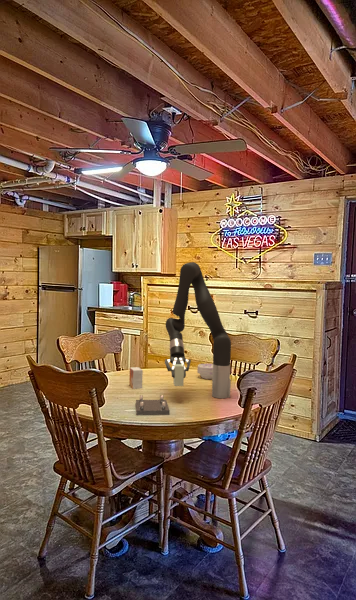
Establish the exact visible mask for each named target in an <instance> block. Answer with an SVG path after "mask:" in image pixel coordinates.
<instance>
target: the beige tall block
mask: <svg viewBox="0 0 356 600" xmlns="http://www.w3.org/2000/svg"><path fill="white" fill-rule="evenodd" d="M184 366H185V364H184V365H183V364H174V372H175V378H173V386H174V387H184V383H185V382H184V379H185V378H184Z"/></svg>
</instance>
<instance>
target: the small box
mask: <svg viewBox="0 0 356 600" xmlns="http://www.w3.org/2000/svg"><path fill="white" fill-rule="evenodd" d="M143 371H144V370H143V369H142V368H141V367H139V366H138V367H137V366H136V367H134V366H132V367H129V380H128V383H129V387H130V388H131V389H133V390H135V389H136V390H137V389H143V373H144V372H143Z"/></svg>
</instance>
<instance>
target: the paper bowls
mask: <svg viewBox="0 0 356 600" xmlns="http://www.w3.org/2000/svg"><path fill="white" fill-rule="evenodd" d="M196 370H197V371H196V372H197V374H199V376H200V377H201V378H203V379H204V380H205V379H206V380H212V379H213V363H199V364H198V365H197V369H196Z"/></svg>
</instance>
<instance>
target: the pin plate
mask: <svg viewBox="0 0 356 600" xmlns="http://www.w3.org/2000/svg"><path fill="white" fill-rule="evenodd" d="M159 396H160V397H159V399H144V395H143V394H142V395H141V394H140V395H139V399H135V411H136V412H135V413H136V416H161V415H162V416H165V415H166V416H170V407H169V404H168V401H167V399H164V394H162V395H159Z"/></svg>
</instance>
